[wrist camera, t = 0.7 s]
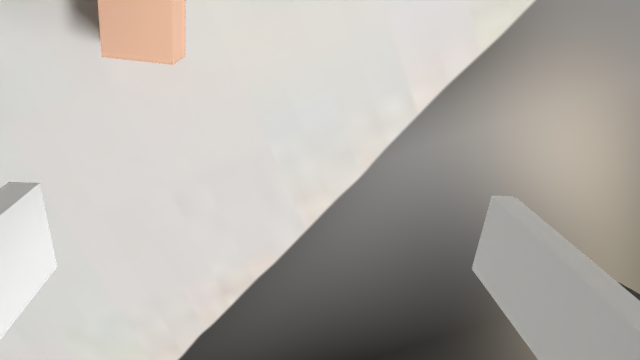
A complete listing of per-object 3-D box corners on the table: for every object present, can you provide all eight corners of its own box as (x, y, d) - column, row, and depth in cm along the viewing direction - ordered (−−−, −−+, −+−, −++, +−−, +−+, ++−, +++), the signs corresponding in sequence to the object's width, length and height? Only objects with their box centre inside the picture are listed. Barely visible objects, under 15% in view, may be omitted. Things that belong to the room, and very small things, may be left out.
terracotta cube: (124, 48, 35) (101, 56, 30) (120, -17, 33) (96, -19, 28) (185, 55, 36) (172, 64, 31) (185, -8, 34) (171, -8, 29)
